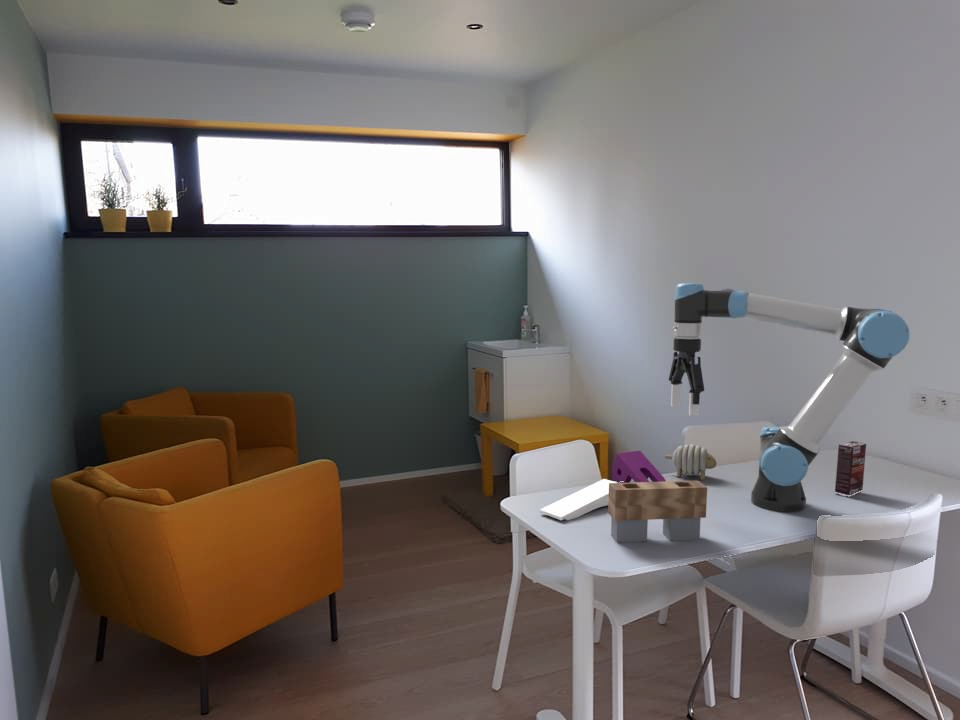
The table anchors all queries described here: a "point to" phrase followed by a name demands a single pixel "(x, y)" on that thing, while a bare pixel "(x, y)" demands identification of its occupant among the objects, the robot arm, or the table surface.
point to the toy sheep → (692, 460)
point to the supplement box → (850, 468)
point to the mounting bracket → (634, 468)
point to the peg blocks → (671, 529)
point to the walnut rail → (657, 500)
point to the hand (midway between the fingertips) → (684, 410)
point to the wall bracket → (580, 501)
